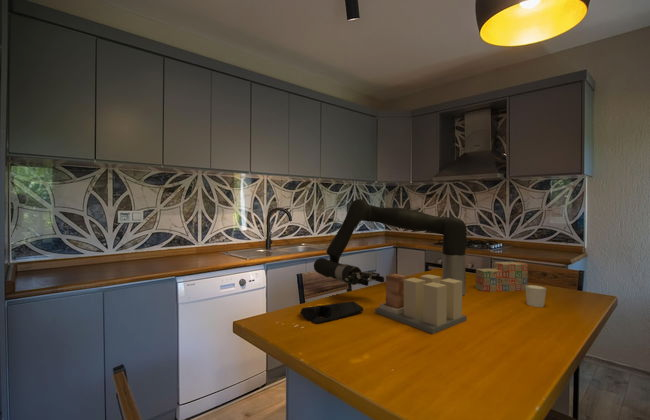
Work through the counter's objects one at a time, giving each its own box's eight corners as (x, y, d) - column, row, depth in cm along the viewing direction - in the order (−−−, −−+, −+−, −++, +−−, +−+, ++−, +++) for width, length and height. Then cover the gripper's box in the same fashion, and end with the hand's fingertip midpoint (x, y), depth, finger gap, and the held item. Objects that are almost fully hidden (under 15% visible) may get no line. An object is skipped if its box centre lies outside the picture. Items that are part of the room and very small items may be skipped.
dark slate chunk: (369, 316, 114) (369, 303, 114) (312, 326, 104) (312, 312, 104) (348, 304, 127) (348, 292, 127) (295, 312, 118) (295, 299, 118)
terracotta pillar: (395, 306, 119) (395, 273, 119) (406, 309, 115) (406, 276, 115) (385, 308, 116) (386, 275, 116) (396, 312, 112) (396, 278, 112)
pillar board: (409, 302, 128) (409, 269, 127) (466, 320, 108) (466, 280, 108) (375, 312, 116) (375, 275, 116) (432, 334, 97) (432, 289, 97)
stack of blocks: (483, 292, 144) (483, 264, 144) (475, 288, 150) (475, 262, 150) (528, 290, 146) (528, 263, 146) (518, 287, 152) (518, 261, 152)
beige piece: (527, 306, 123) (527, 288, 123) (523, 301, 130) (523, 284, 130) (548, 308, 121) (548, 289, 121) (543, 303, 127) (543, 285, 127)
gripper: (334, 267, 132) (362, 274, 119) (360, 263, 140) (388, 269, 127) (334, 285, 132) (362, 294, 119) (360, 280, 141) (388, 288, 128)
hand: (375, 281), depth 123 cm, fingers open, 8 cm apart
